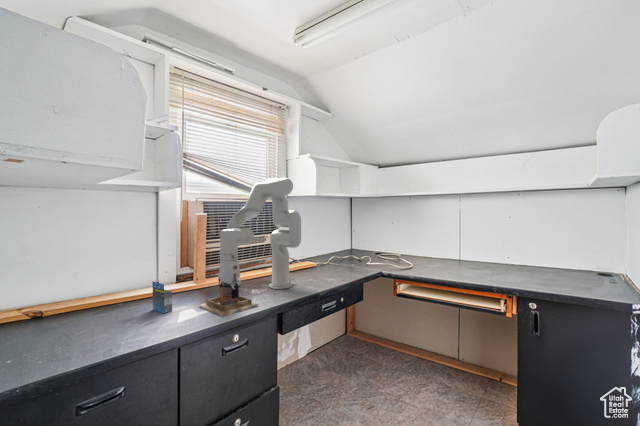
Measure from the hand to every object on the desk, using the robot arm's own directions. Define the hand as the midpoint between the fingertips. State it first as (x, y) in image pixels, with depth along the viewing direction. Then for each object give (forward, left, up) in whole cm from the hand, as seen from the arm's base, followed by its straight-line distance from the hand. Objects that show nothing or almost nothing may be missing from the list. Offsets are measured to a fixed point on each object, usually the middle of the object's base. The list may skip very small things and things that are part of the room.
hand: (228, 295), depth 135 cm
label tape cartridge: (+22, -16, -5) cm, 28 cm away
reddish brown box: (0, 0, -4) cm, 4 cm away
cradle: (0, 0, -5) cm, 5 cm away
